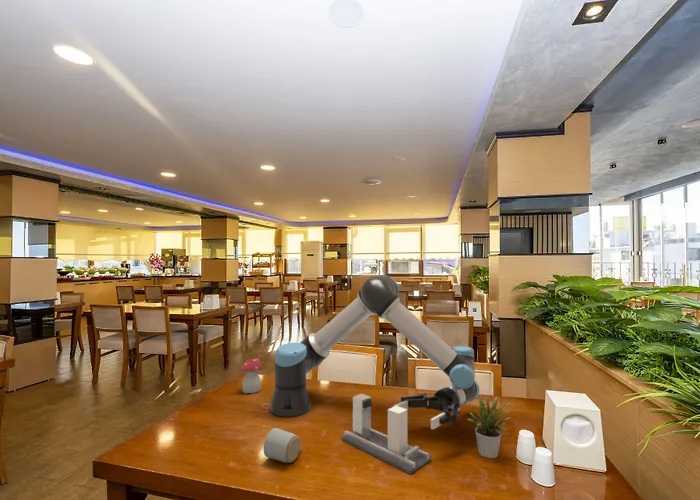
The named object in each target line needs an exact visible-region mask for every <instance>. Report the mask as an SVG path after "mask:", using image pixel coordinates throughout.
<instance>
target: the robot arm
mask: <svg viewBox="0 0 700 500" xmlns="http://www.w3.org/2000/svg"><path fill="white" fill-rule="evenodd" d="M399 291H400V289H399V285H398V283H397V281H396V280H395V279H394V278H393V277H392V276H389V275H386V274H380V275H375V276H374V275H373V276H371V277H369V278H367V279H366V280H365V281H364V282H363V284H362V285H361V288H360V289H359V290H358V291H357V294H356V295H357V296H356V298H355V299H354V300H353V301H351V302H350V303H349V304H348V305H347V306H346V307H344V309H342V310H341V311H340V312H339V313H338V314H337V315H335V316H334V317H333V318H332V319H331V320H330V321H329V322H328V323H327V324H325V325H324V326H323V327H322V328H321V329H319V330H318V331H317V332H316V333H314V332H311V333H309V334H308V335H307V336H306V337H305V338H304V339H302V340H301V341H300V342H288V343H283V344H281V345H280V346H278V347H277V348H276V351H275V356H274V390H273V394H272V397H271V401H270V403H269V412H270V413H271V414H273V415H275V416H277V417H283V418H284V417H286V418H288V417H297V416H301V415H304V414H307V413H308V412H309V411H310V410H311V407H312V406H311V405H312V404H311V403H312V402H311V399H310V395H309V392H308V388H307V373H309V372H310V371H312V370H313V369H315V368H317V367H319V366H320V365H321V364H322V362H323V361H324V360H325V359H327V358H328V357H329V355H330V350H331V349H333V347H335V346H336V345H337V344H338V343H339V342H341V341H342V340H343V339H344V338H346V337H347V336H348V334H351V332H352V331H354V330H355V329H356V328H357V327H358V326H359V325H361V324H362V323H363V322H364V321H365V320H367V319H368V318H369V317H370V316H371V315H374V316H378V317H379V318H380V319H385V320H386V321H387V322H388V323H390V324H391V325H392V326H393V327H394V328H395V329H396V330H397V331H398V332H399V333H401V334H402V335H403V336H404V337H405V338H406V339H407V340H408V342H410V343H411V344H413V345H414V347H416V348H417V349H418V350H419V351H420V352H422V354H423V355H425V357H427V358H428V359H429V360H430V361H431V362H432V363H433V364H434V365H435V366H436V367H438V368H439V369H440V370H441V371H442V372H443V373H444V374H445V375H446V376H447V377H448V378H449V380H450V383H451V384H449V385H447V386H444V387H443V388H441V389H438V390H437V391H436V392H435V393H434V395H432V396H427V395H428V394H427V393H421V394H416V395H410V396H409V395H407V396H401V397H400V402H398V403H397V404H394V405H393V406H392V407H394V406H399V407H401V408H404V409H407V411H408V410H409V409H414V408H416V409H417V408H425V410H429V409H430V410H431V409H432V410H436V411H438V412H439V411H440V412H441V413H439V414H438V415H435V416H434V417H432V418H430V429H431V430H435V429H436V428H439V427H440V426H443V425H446V424H447V423H448V424H450V423H452V424H453V425H457V423H458V415H459V414H461V407H463V406H464V405H466V404H468V403H471V402H472V401H474V400H475V399H476V398H478V396H480V391H481V390H480V386H479V384H478V382H477V380H475V379H476V372H475V351H474V349H473V348H472V347H470V346H463V345H458V346H453V348H452V347H451V346H449V345H448V344H447V343H446V342H445V341H444V340H442V338H440V337H439V336H438V335H437V334H436V333H435V332H434V331H433V330H431V328H429V327H428V326H427V325H426V324H425V323H424V322H422V321H421V320H420V318H418V317H417V316H416V315H415V314H413V313H412V311H410V310H409V309H408V308H407V307H406V306H405V305H403V304H402V302H401V300H400V297H399V293H400V292H399ZM464 400H465V401H464ZM466 401H467V402H468V403H467V402H466ZM451 414H452V415H451Z"/></svg>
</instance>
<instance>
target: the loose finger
mask: <svg viewBox="0 0 700 500" xmlns="http://www.w3.org/2000/svg"><path fill="white" fill-rule="evenodd" d="M393 406H394V405H393ZM393 406H392V407H390V408H388V409H387V410H386V417H387V436H388V450H390V451H392V452H394V453H396V454H398V455H400V456H402V455H404V454H405V452H406V451H408V447H407V444H408V410H407V409H404V408H401V407H399V406H394V407H393Z"/></svg>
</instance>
